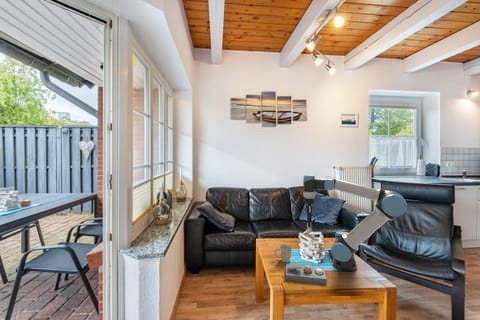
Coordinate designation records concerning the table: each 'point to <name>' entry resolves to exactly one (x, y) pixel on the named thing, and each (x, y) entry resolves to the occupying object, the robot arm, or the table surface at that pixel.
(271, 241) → the table surface
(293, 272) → the panel
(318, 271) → the button cream
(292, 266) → the rocker
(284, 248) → the mug
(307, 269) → the button terracotta
